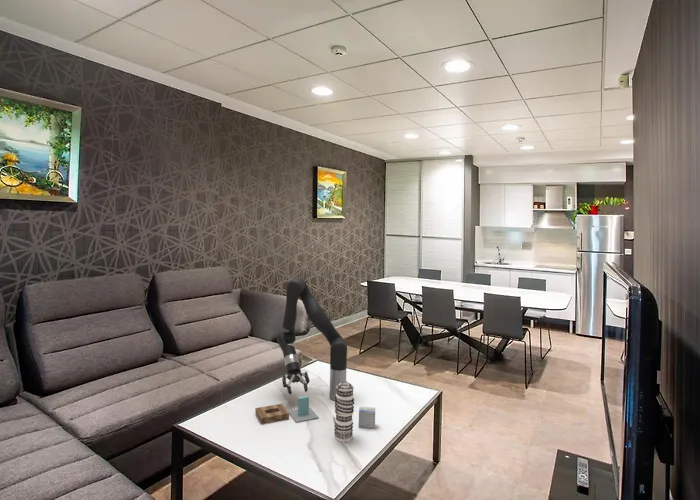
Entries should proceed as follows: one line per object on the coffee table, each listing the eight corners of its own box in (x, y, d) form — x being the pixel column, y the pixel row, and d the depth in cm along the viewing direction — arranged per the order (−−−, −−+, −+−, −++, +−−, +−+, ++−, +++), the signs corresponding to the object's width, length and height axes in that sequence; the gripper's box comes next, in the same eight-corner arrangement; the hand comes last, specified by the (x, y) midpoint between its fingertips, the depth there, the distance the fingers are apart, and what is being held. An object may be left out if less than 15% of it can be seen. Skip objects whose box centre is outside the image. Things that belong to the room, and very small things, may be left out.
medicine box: (375, 424, 207) (375, 407, 206) (374, 428, 202) (375, 411, 202) (359, 423, 207) (359, 406, 207) (358, 427, 203) (358, 410, 202)
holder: (281, 409, 220) (282, 403, 220) (288, 419, 209) (289, 413, 209) (255, 413, 214) (255, 408, 213) (261, 424, 203) (261, 418, 203)
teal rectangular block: (307, 412, 215) (307, 395, 215) (308, 414, 214) (308, 397, 213) (297, 414, 213) (298, 397, 213) (299, 416, 211) (299, 398, 211)
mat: (310, 408, 221) (310, 407, 221) (318, 418, 211) (318, 417, 211) (288, 412, 216) (288, 411, 216) (295, 422, 205) (295, 421, 205)
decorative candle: (330, 439, 191) (331, 386, 189) (338, 430, 200) (339, 379, 198) (348, 443, 188) (350, 389, 186) (356, 434, 196) (357, 382, 194)
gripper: (281, 362, 224) (287, 391, 214) (306, 359, 230) (313, 387, 220) (278, 369, 229) (283, 397, 219) (302, 365, 235) (309, 393, 226)
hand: (298, 392), depth 220 cm, fingers open, 8 cm apart
